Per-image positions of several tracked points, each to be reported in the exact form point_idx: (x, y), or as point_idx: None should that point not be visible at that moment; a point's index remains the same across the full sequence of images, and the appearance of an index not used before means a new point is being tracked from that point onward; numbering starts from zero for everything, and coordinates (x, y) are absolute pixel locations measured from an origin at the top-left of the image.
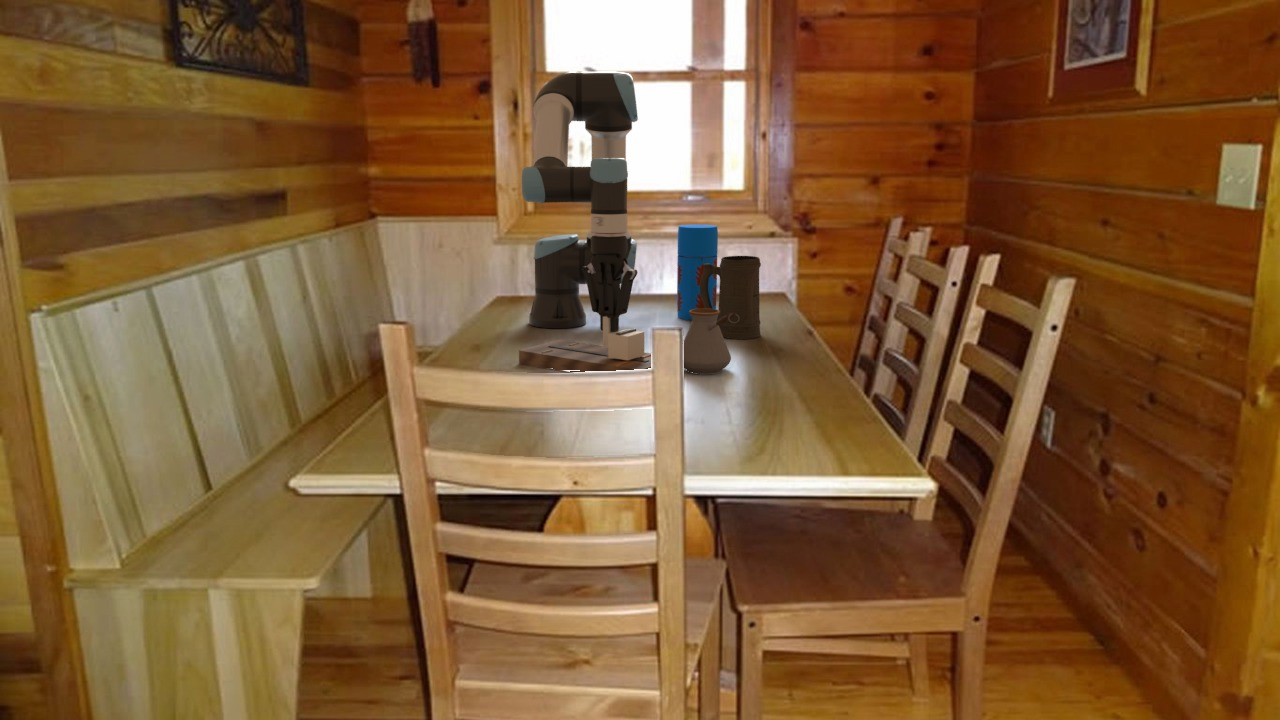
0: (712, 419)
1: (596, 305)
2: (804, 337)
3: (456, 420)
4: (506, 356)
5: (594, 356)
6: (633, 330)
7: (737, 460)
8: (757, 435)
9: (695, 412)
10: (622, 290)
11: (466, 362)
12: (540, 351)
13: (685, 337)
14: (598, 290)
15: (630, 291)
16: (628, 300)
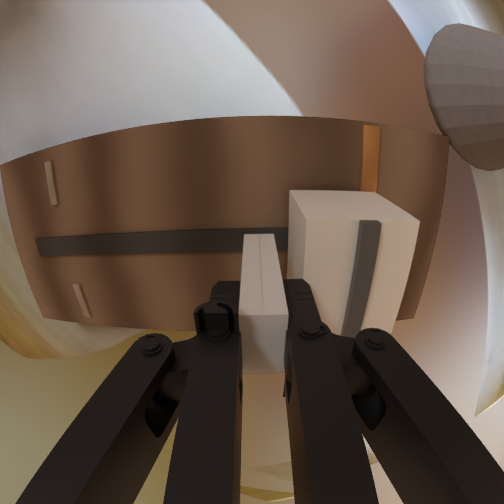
0: (498, 348)
1: (176, 414)
2: None
3: (261, 469)
4: (5, 264)
5: (219, 274)
6: (376, 246)
7: (498, 391)
8: None
9: (486, 344)
10: (426, 500)
11: (20, 330)
12: (72, 305)
13: (502, 123)
14: (107, 471)
15: (478, 450)
16: (437, 401)
